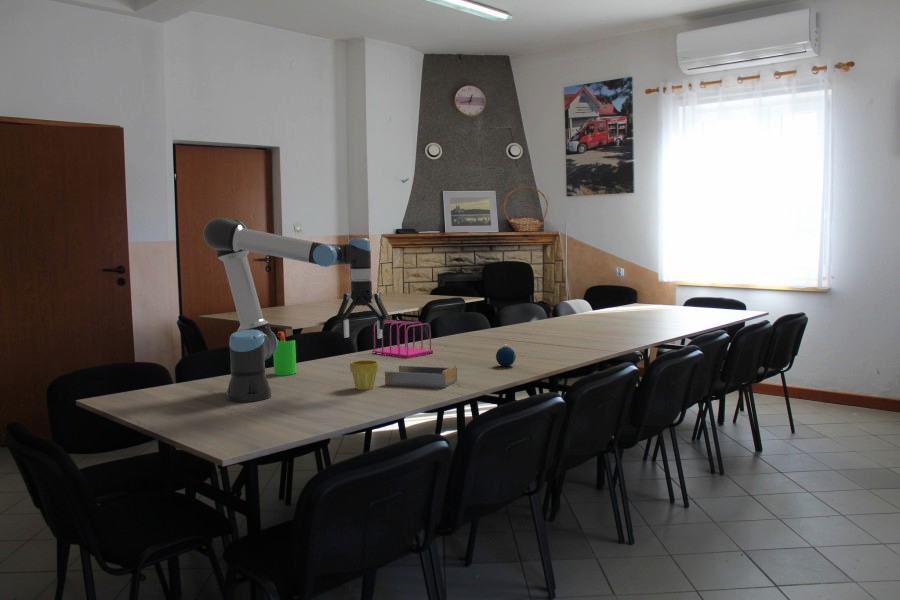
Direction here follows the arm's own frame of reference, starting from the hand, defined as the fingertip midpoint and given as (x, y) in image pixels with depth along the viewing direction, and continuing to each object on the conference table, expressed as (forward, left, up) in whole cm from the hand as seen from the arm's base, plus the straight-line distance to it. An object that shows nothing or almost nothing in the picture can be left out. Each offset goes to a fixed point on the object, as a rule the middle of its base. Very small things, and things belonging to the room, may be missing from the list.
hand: (363, 337), depth 261 cm
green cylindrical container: (+18, +46, -19) cm, 53 cm away
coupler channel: (+14, -17, -19) cm, 29 cm away
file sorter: (+78, +19, -19) cm, 83 cm away
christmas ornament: (+56, -39, -19) cm, 71 cm away
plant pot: (0, 0, -19) cm, 19 cm away
